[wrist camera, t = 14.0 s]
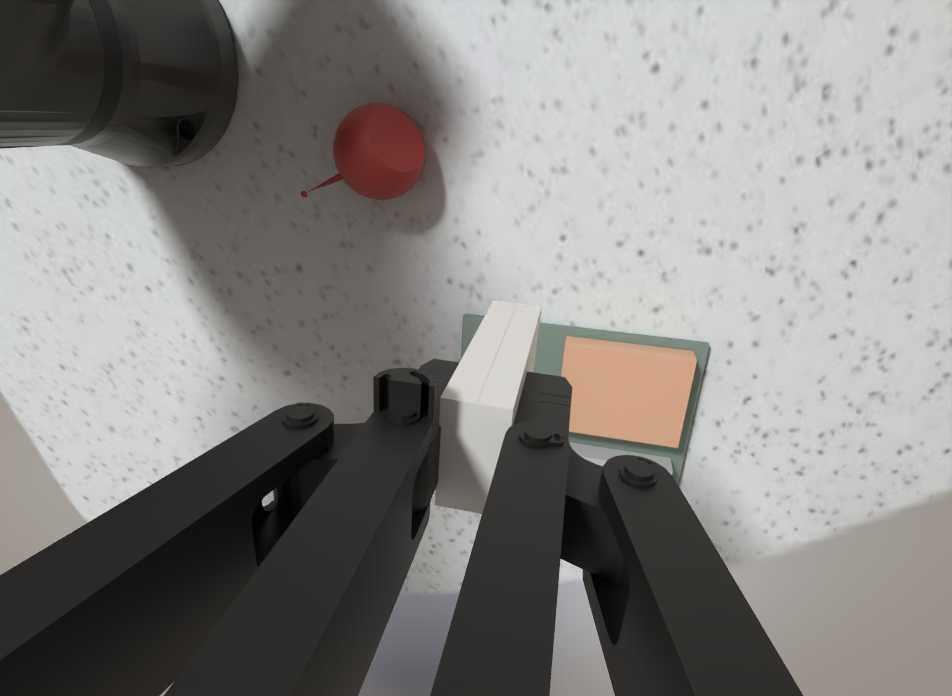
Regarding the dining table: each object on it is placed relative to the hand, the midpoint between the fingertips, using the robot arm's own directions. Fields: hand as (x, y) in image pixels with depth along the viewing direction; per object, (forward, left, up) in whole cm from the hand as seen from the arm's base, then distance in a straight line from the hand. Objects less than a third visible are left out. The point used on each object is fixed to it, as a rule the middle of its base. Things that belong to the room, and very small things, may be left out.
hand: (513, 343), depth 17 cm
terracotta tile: (+1, -12, -22) cm, 25 cm away
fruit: (-14, +3, -24) cm, 28 cm away
